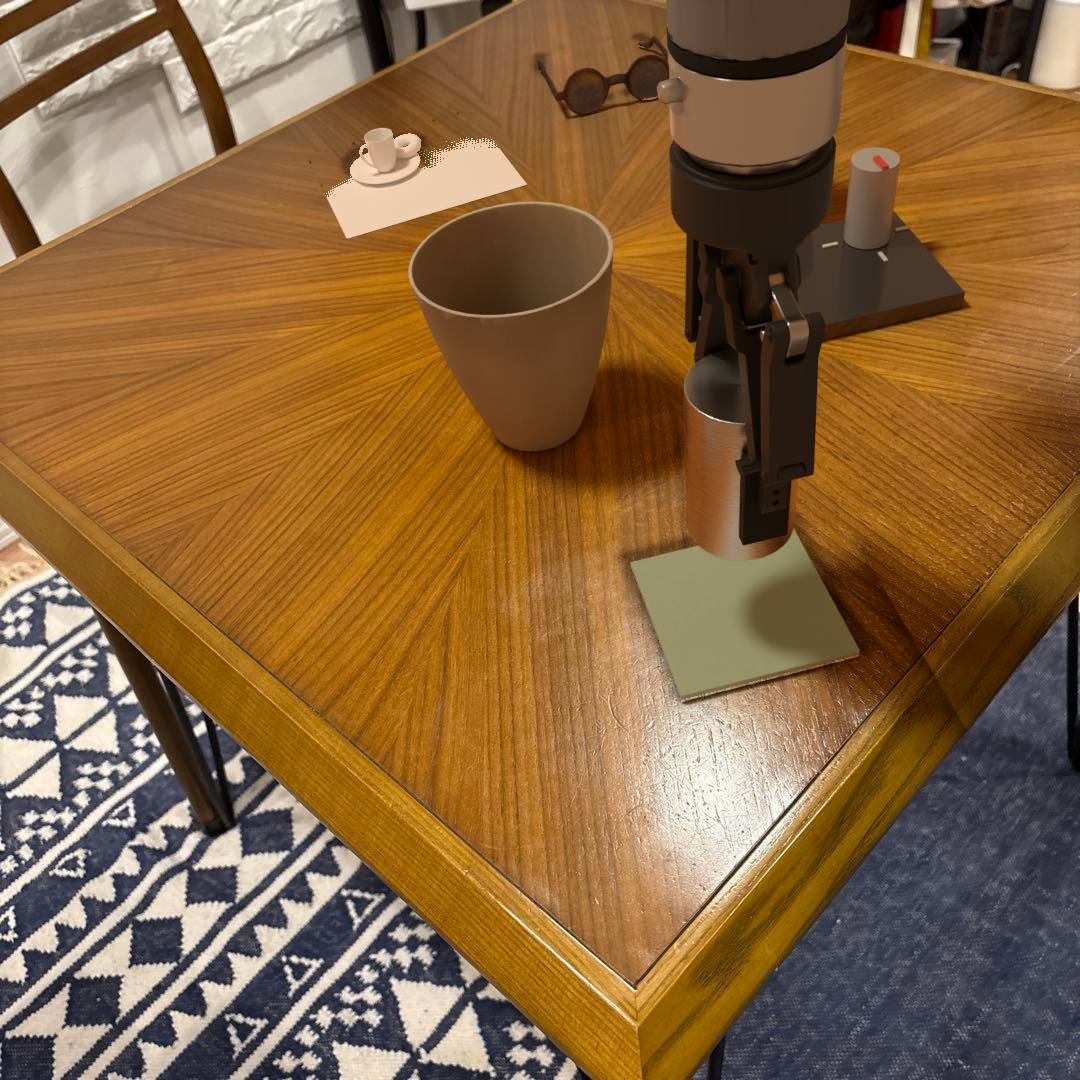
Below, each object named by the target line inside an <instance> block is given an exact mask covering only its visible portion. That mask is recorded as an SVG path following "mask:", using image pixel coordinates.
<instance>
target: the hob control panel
mask: <svg viewBox="0 0 1080 1080" xmlns="http://www.w3.org/2000/svg"><path fill="white" fill-rule="evenodd" d="M844 225H845V219H840V220H836V221H832V222H828V223H822V224H821V225H820V226H819V227H818V228H817V229H816V230H814V231H813V232H812V233H811V234H810V235H809V236H807V237H806V238H805V239H804V240H803V241H802V243H801V244H800V245H799V246H798V248H797V249H796V252H797V254H798V257H799V260H800V269H801V284H800V286H799V288H798V290H797V296H798V306H799V308H800V310H801V312H802V314H808V313H812V312H816V311H819V312H820V313H821V314H822V317H823V319H824V321H825V334H824V338H823V342H826V341H830V340H834V339H837V338H841V337H847V336H850V335H854V334H859V333H864V332H868V331H871V330H872V331H873V330H876V329H880V328H885V327H889V326H894V325H897V324H901V323H906V322H910V321H914V320H919V319H922V318H927V317H932V316H935V315H941V314H944V313H947V312H953V311H958V310H961V309H963V305H964V299H965V294H966V291H965V290H964V289H963V287H961V286H960V284H958V282H957V281H956V280H955V278H953V276H952V275H951V274H950V273H949V272H948V271H947V270H946V268H945V267H944V266H943V265H942V264H941V263H940V262H939V260H938V259H936V257H935V256H934V255H933V254H932V252H930V250H929V249H928V248H927V247H926V246H925V245H924V244H923V242H922V241H921V240H920V239H919V238H918V237H917V235H915V233H914V232H913V231H912V230H911V229H912V226H911V225H910V224H908V225H907V224H906V223H905V222H904V221H903V220H902V218H901V217H900V216H899V215H898V214H897V213H896V211H895V210H894V211H893V219H892V226H891V234H890V239H889V241H888V242H887V243H886V244H885V245H884V246H882V247H879V248H876V249H858V248H855V247H852V246H850V245H848V244H847V243H846V242H845V240H844V238H843V235H844ZM768 323H769V322H768ZM764 325H766V323H764V324H759V325H755V326H748V328H747V329H751V328H755V327H760V326H764Z"/></svg>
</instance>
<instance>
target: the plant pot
mask: <svg viewBox="0 0 1080 1080" xmlns="http://www.w3.org/2000/svg"><path fill="white" fill-rule="evenodd" d="M614 245H615V244H614V239H613V237H612V234H611V232H610V230H609V229H608V227H606V225H605V224H604V223H603V222H602V221H600V219H598V218H597V217H595V216H594V215H592V213H589V212H587V211H585V210H583V209H579V208H578V207H574V206H571V205H568V204H563V203H558V202H551V201H535V200H534V201H516V202H505V203H501V204H496V205H492V206H486V207H482V208H479V209H476V210H474V211H470V212H467V213H465V214H462V215H460V216H458V217H455V218H453V219H451V220H449V221H447V222H445V223H444V224H442V225H441V226H439V227H438V228H436V229H435V230H434V231H432V232H431V233H430V234H428V236H426V237H425V239H423V240H422V241H421V242H420V244H419V245H418V246H417V248H416V249H415V251H414V252H413V253H412V256H411V258H410V260H409V264H408V269H407V276H408V280H409V284H410V286H411V289H412V291H413V294H414V296H415V298H416V301H417V304H418V305H419V308H420V310H421V312H422V315H423V317H424V320H425V322H426V324H427V326H428V329H429V330H430V333H431V335H432V337H433V339H434V341H435V343H436V345H437V348H438V349H439V351H440V353H441V355H442V357H443V359H444V361H445V363H446V364H447V367H448V369H449V370H450V372H451V373H452V375H453V377H454V378H455V380H456V382H457V384H458V385H459V387H460V388H461V390H462V392H463V394H464V395H465V396H466V398H467V399H468V401H469V402H470V404H471V405H472V407H473V408H474V410H475V412H477V414H478V415H479V417H480V418H481V419H482V421H483V422H484V423H485V425H486V426H487V428H488V429H489V430H490V432H491V433H492V434H493V435H494V436H495V437H496V439H497V440H499V442H500V443H501V444H503V445H505V446H506V447H509V448H510V449H512V450H517V451H520V452H521V451H522V452H542V451H546V450H547V451H548V450H551V449H554V448H556V447H559V446H561V445H563V444H565V443H566V442H567V441H569V440H570V439H572V438H573V437H574V436H575V435H576V433H577V432H578V431H579V430H580V427H581V425H582V422H583V421H584V420H583V419H584V417H585V415H586V411H587V409H588V406H589V402H590V399H591V396H592V392H593V390H594V385H595V382H596V379H597V375H598V371H599V367H600V362H601V358H602V353H603V348H604V343H605V337H606V332H607V324H608V319H609V310H610V302H611V289H612V280H613V279H612V277H613V263H614V248H615V246H614Z"/></svg>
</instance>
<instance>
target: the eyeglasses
mask: <svg viewBox="0 0 1080 1080" xmlns="http://www.w3.org/2000/svg"><path fill="white" fill-rule="evenodd" d="M654 44H655V45H656V46H657V48H658V49H659V50H660V52H661V54H662V55H663V56H664V58H665V59H666V60H665V59H664V58H663V57H662V56H659V55H656V54H651V53H650V54H644V55H641V56H639V57H638V58H636V59H635V60H634V61H633V62H632V63H631V64H630V66H629V67H628V69H627V71H626V72H624V73H616V74H611V75H609V76H604V75H603V74H602V73H601V72H599V71H598V70H597V69H595V68H594V67H582V68H579V69H577V70H574V72H572V73H571V74H570V75H569V76H568V78H567V79H566V80H565V83H564V86H563V89H562V90H561V91H557V89H556V88H555V85H554V83H553V82H552V80H551V78H550V76H549V74H548V72H547V70H546V69H545V67H544V62H543V61H541V60H540V59H539V60H537V61H536V62H537V68H538V71H540V72H541V74H542V75H543V78H544V79H545V82H546V84H547V86H548V88H549V90H550V92H551V94H552V97H553V98H554V100H555V101H556V102H559V101H564V103H565V105H566V106H567V109H569V111H571V112H572V113H574V114H576V115H578V116H587V115H586V114H588V115H590V114H589V113H591V114H593V113H592V112H594V113H595V111H596V112H597V111H598V110H600V109H601V108H602V107H603V105H604V104H605V102H606V101H607V98H608V95H609V91H610V89H611V88H612V87H613V86H616V85H620V84H621V85H622V84H623V85H624V86H625V88H626V90H627V91H628V92H629V94H630V95H631V96H632V97H633V98H634V99H636V100H638V101H641V100H642V99H644V98H646V99H647V98H650V97H651V98H652V97H656V96H657V97H658V92H657V86H658V84H659V82H662V81H664V80H668V79H669V64H668V49H667V48H665V46H664V45H663V43H662V42H661V41H660V40H659V39H658V37H656V36H651V37H650V38H649V40H648V42H647V43H646V42H638V43H637V46H638V45H640V46H643V47H645V48H647V49H649V48H651V47H652V46H653V45H654Z"/></svg>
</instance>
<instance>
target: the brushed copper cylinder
mask: <svg viewBox="0 0 1080 1080" xmlns="http://www.w3.org/2000/svg"><path fill="white" fill-rule="evenodd" d="M682 389H683V424H684V426H683V427H684V428H683V429H684V431H683V432H684V465H685V466H684V467H685V468H684V469H685V471H684V472H685V475H684V476H685V511H686V512H685V514H686V518H685V519H686V527H687V528H686V529H687V532H688V534H689V536H690V538H691V539H692V540H693V542H694V543H695V544H696V546H699V547H701V548H702V549H703V550H705V551H706V552H708V553H710V554H712V555H714V556H717V557H720V558H723V559H728V560H736V561H747V560H754V559H759V558H763V557H766V556H768V555H770V554H772V553H774V552H776V551H777V550H779V549H780V548H781V547H783V546H784V545H785V544H786V542H787V541H788V540H789V538H790V537H791V535H792V533H793V529H795V523H796V522H795V521H796V508H797V495H798V484H799V479H795V480H792V481H791V494H790V508H789V521H788V535H785V536H781V537H777V538H773V539H769V540H765V541H761V542H756V543H752V544H748V545H744V546H743V545H742V543H741V540H740V538H739V507H740V474H739V473H738V470H737V467H736V463H735V460H739V459H741V455H745V454H748V447H747V437H746V427H745V417H744V407H743V397H742V387H741V377H740V367H739V357H738V351H737V350H735V349H734V348H730V349H725V350H721V351H718V352H715V353H712V354H710V355H708V356H706V357H704V358H702V359H701V360H699V361H698V362H697V363H696V364H695V363H694V364H693V366H691V367H690V369H689V370H688V372H687V373H686V375H685V378H684V381H683V387H682Z"/></svg>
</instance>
